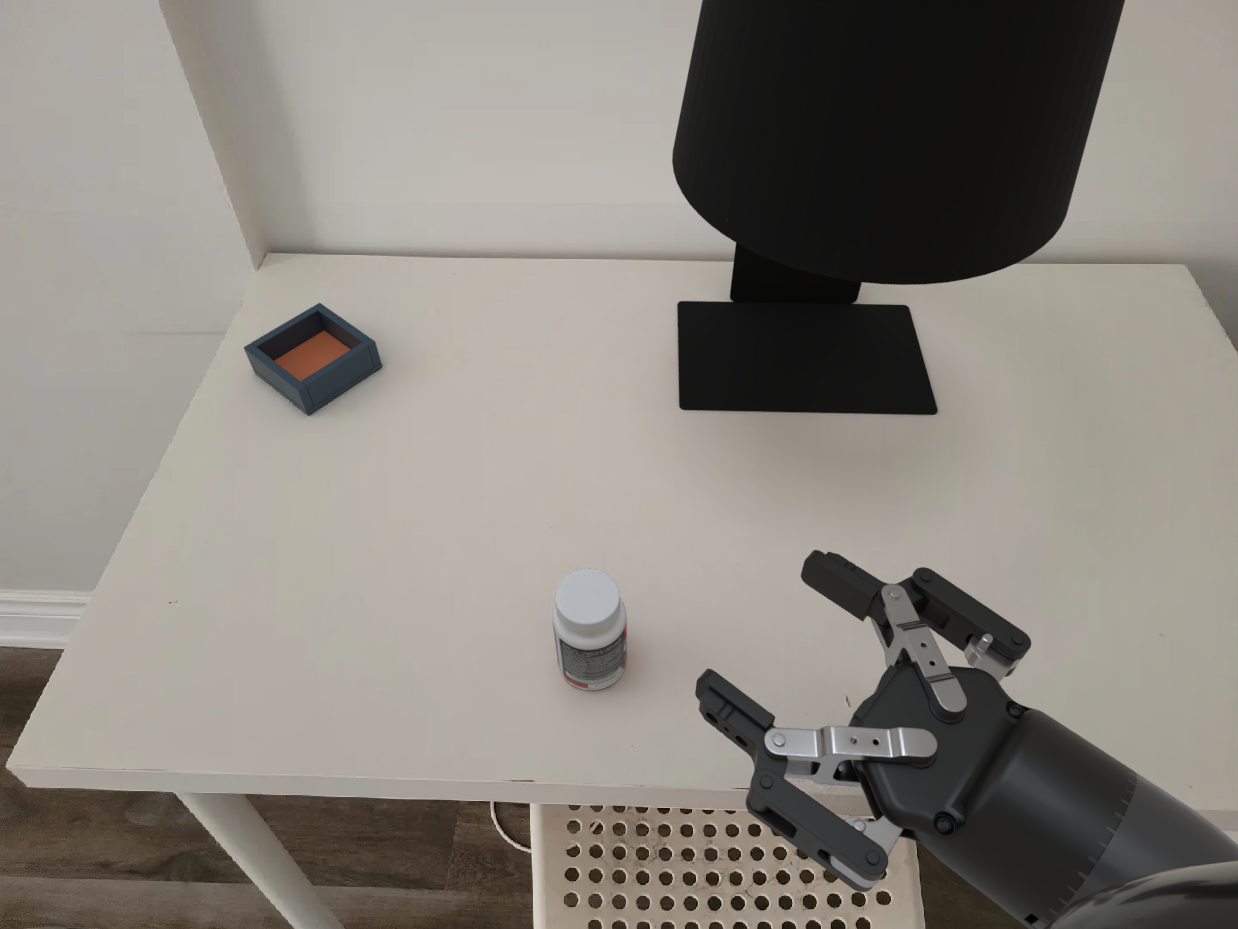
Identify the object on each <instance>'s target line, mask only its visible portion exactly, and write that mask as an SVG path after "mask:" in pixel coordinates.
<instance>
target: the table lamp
mask: <svg viewBox="0 0 1238 929" xmlns="http://www.w3.org/2000/svg"><path fill="white" fill-rule="evenodd" d="M1125 3H1126V0H702V1H701V6H700V10H699V15H698V19H697V20H698V21H697V26H696V31H695V36H694V41H693V47H692V51H691V55H690V56H691V57H690V61H689V66H688V72H687V77H686V81H685V85H684V86H685V87H684V91H683V96H682V102H681V107H680V113H679V118H678V121H677V122H678V123H677V128H676V132H675V137H674V141H673V142H674V143H673V147H672V156H671V157H672V158H671V163H672V172H673V175H674V178H675V182H676V184H677V185H678V188H679V190H680V192H681V194H682V195H683V197H684V198H685V199H686V201H687V202H688V204H689V206H690V207H691V208H692V209H693V210H694V211H695V212H696V213H697V214H698V215H699V216H700V217H701V218H702V219H703V220H704V221H705V222H706V223H707V224H708V225H709V226H711V227H712V228H713V229H714V230H716V231H717V232H719V233H720V234H722V235H723V236H725V237H727V238H728V239H729V240H730V241H731V240H732V241H733V242H734V243H735V248H734V255H733V264H732V265H733V266H732V272H731V273H732V274H731V280H730V282H731V284H730V291H729V299H730V300H731V301H717V300H716V301H712V300H711V301H710V300H709V301H708V300H680V301H678V302H677V308H676V310H677V357H678V358H677V361H678V406H679V408H680V409H681V410H684V411H723V412H724V411H725V412H727V411H729V412H769V413H770V412H771V413H772V412H773V413H779V412H780V413H822V414H823V413H825V414H826V413H828V414H869V415H870V414H874V415H876V414H877V415H878V414H879V415H919V416H921V415H923V416H925V415H926V416H927V415H929V416H934V415H936V414H937V413H938V412H939V409H938V405H937V402H936V401H937V400H936V398H935V396H934V391H933V388H932V383H931V381H930V377H929V373H928V370H927V366H926V364H925V363H926V362H925V359H924V356H923V352H922V348H921V345H920V341H919V337H918V334H917V330H916V327H915V323H914V319H913V316H912V313H911V309H910V306H908V305H907V304H887V303H886V304H885V303H881V304H880V303H856V302H857V301H858V299H859V295H860V291H861V287H862V283H863V284H865V283H867V284H876V285H891V286H892V285H893V286H895V285H897V286H913V285H914V286H916V285H921V286H922V285H935V284H936V285H937V284H943V283H944V284H945V283H953V282H958V281H959V282H960V281H965V280H970V279H974V278H979V277H982V276H986V275H989V274H992V273H996V272H998V271H1001V270H1004V269H1006V268H1009V267H1011V266H1014V265H1016V264H1018V263H1021V262H1022V261H1023V260H1025V259H1027V258H1029V257H1031V256H1032V255H1034V254H1035V253H1036V252H1038V251H1039V250H1041V249H1042V248H1044V247H1045V246H1046V245H1047V244H1048V243H1049V242H1051V240H1052V239H1053V238H1054V237H1055V236H1056V234H1057V233H1058V232H1059V231H1060V229H1061V228H1062V225H1063V224H1064V222H1065V220H1066V218H1067V215H1068V211H1069V208H1070V205H1071V204H1070V203H1071V200H1072V197H1073V193H1074V188H1075V185H1076V182H1077V178H1078V174H1079V171H1080V167H1081V163H1082V160H1083V156H1084V153H1085V149H1086V145H1087V141H1088V137H1089V134H1090V130H1091V127H1092V123H1093V120H1094V115H1095V113H1096V108H1097V105H1098V101H1099V97H1100V94H1101V90H1102V86H1103V83H1104V79H1105V76H1106V72H1107V68H1108V65H1109V61H1110V57H1111V54H1112V50H1113V45H1114V42H1115V39H1116V35H1117V32H1118V28H1119V25H1120V21H1121V17H1122V13H1123V11H1124V6H1125Z"/></svg>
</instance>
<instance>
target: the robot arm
mask: <svg viewBox="0 0 1238 929" xmlns="http://www.w3.org/2000/svg"><path fill="white" fill-rule="evenodd" d="M800 579H801V580H802V582H803V583H804V584H805V585H806V586H808V587H810V588H811V589H812V590H814V591H816V592H817V593H818V594H820V595H821V596H823V597H825V598H826V599H827V600H829V601H831V603H834V604H835V605H836V606H838V607H839V608H841V609H843V610H844V611H846V612H847V613H848V614H850V615H852V616H853V617H854V618H856V619H858V620H859V621H861V622H862V623H864V621H865V620H866V619H867V618H868V617H869V618H870V622H871V624H872V627H873V629H874V631H875V634H876V636H877V639H878V641H879V643H880V645H881V647H882V650H883V652H884V662H885V665H886V670H885V671H884V673H882V675H881V677H880V679H879V681H878V683H877V686H876V688H875V690H874V692H873V694H871V695H870V696H868V697H867V698H865V699H864V700H863V701H862V702H861V703H860V705H859V706H858V707H857V709H856V710H855V712H854V713H853V714H852V716H851V718H850V720H849V723H848V726H846V725H845V726H844V725H826V726H823V727H820V728H817V729H814V728H813V729H811V728H797V727H796V728H795V727H781V726H779V727H778V726H775V725H774V723H775V721H776V716H775V715H774V714H772V712H770V711H768V709H766V708H765V707H763V706H762V705H760V703H758V702H757V701H755V700H754V699H752V698H751V697H750V696H749V695H747V693H745V692H743V691H742V690H740V689H739V688H738V687H737V686H735V685H734V684H733V683H731V682H730V681H728V680H727V679H726V678H724V677H723V676H722V675H721V674H719V673H718V672H717V671H715V670H714V669H712V668H706V669H705V670H704V671H703V672H702V674H700V676H699V677H698V678H697V680H696V683H695V690H694V691H695V692H694V695H695V697H696V699H697V701H699V705H698V711H699V713H700V714H701V716H702V718H703V720H704V721H705V722H707V723H708V724H710V725H711V726H712V727H713V728H715V730H717V731H718V732H719V733H721V734H722V735H723V736H725V737H726V738H727V739H728V740H730V741H731V742H732V743H733V744H734V745H736V746H737V747H738V748H740V749H741V750H742V751H744V752H745V753H746V754H747V755H748V756H749V757H750V758H751V760H752V761H753V767H754V769H753V774H752V776H751V779H750V783H749V784H750V785H749V788H748V792H747V794H746V798H745V807H746V810H747V811H748V813H749V814H750V815H751V816H753V817H754V818H755V819H757V820H758V821H760V822H761V823H762V824H763V825H765V826H766V827H768V828H769V829H770V830H771V831H773V832H774V833H776V834H777V835H779V836H780V837H781V838H782V839H784V840H785V841H787V842H788V843H790V844H791V846H794V847H795V848H796V849H798V850H799V851H800V852H802V853H803V854H805V855H806V856H807V857H809V858H810V859H811V860H813V861H814V862H815V863H816V864H818V865H819V866H821V867H822V868H823V869H825V870H826V871H828V872H829V873H830V874H832V875H833V876H834V877H836V878H837V879H838V880H840V881H841V882H843V883H844V884H845V885H847V886H848V887H849V888H851V890H854V891H856V892H858V893H867V892H869V891H871V890H872V889H873V888H874V886H876V885H877V884H878V883H879V881H880V880H881V878H883V876H884V873H885V872H886V870H887V868H888V866H889V856H890V854H891V853H892V851H893V849H894V848H895V845H896V843H897V841H898V840H899V839H900V838H904V839H907V840H911V841H913V842H916V843H917V844H918V843H919V844H921V845H922V846H924V847H925V848H926V849H927V850H928V851H929V852H931V853H932V855H934V857H935V858H937V859H938V861H940V862H941V863H942V864H943V865H945V866H946V867H947V868H949V869H950V870H951V871H952V872H954V873H955V874H956V875H958V876H959V877H961V878H962V879H963V880H964V881H965V882H967V883H968V884H969V885H971V886H973V887H974V888H975V889H976V890H978V891H979V892H980V893H982V895H984V896H986V897H987V898H988V899H989V900H991V902H992V903H993V902H994V904H996V905H997V906H999V907H1000V908H1001V909H1002V910H1004V911H1005V912H1007V913H1008V914H1009V915H1010V916H1011V917H1013V918H1014V919H1015V920H1017V921H1018V922H1019V923H1020V924H1022V925H1023V926H1025V927H1026V928H1027V929H1238V843H1237V842H1236V841H1235V840H1233V838H1231V837H1230V836H1229V835H1227V833H1225V832H1224V831H1222V830H1221V828H1219V827H1218V826H1217V825H1215V824H1214V823H1213V822H1212V821H1210V820H1209V819H1208V818H1206V817H1205V816H1203V815H1202V814H1201V813H1200V812H1198V811H1196V810H1195V809H1194V808H1193V807H1191V806H1189V805H1187V804H1186V803H1184V802H1182V801H1181V800H1180V799H1178V797H1177V798H1176V797H1175V796H1174V795H1172V794H1171V793H1169V792H1168V791H1165V790H1164V789H1163V788H1161V787H1160V786H1158V785H1157V784H1155V783H1154V782H1152V781H1151V780H1149V779H1147V778H1146V777H1144V776H1142V775H1141V774H1139V773H1138V772H1137V771H1135V770H1133V769H1132V768H1130V767H1129V766H1127V765H1126V764H1124V763H1123V762H1121V761H1119V760H1118V759H1116V758H1115V757H1113V756H1112V755H1110V754H1109V753H1107V752H1105V751H1104V750H1103V749H1101V748H1099V747H1098V746H1097V745H1095V744H1093V743H1092V742H1090V741H1089V740H1088V739H1086V738H1084V737H1083V736H1081V735H1079V734H1078V733H1076V732H1075V731H1074V730H1071V729H1070V728H1069V727H1067V726H1066V725H1064V724H1062V723H1061V722H1059V721H1058V720H1056V719H1055V718H1053V717H1051V716H1050V715H1049V714H1047V713H1046V712H1044V711H1041V710H1040V709H1037V708H1032V707H1029V706H1026V705H1023V704H1020V703H1019V702H1016V701H1015V700H1014V699H1013V698H1012V697H1011V696H1010V695H1009V694H1008V693H1007V692H1006V690H1005V689H1003V688H1004V687H1002V685H1001V682H1002V680H1003V679H1004V678H1007V677H1010V676H1011V675H1012V674H1013V673H1014V672H1015V670H1016V669H1017V667H1018V666H1019V664H1021V661H1022V660H1023V659H1024V657H1025V656H1026V654H1027V653H1028V652H1029V651H1030V649H1031V647H1032V640H1031V638H1030V636H1029V635H1028V634H1027V633H1026V632H1025V631H1023V630H1022V629H1021V628H1019V627H1018V626H1017V625H1015V624H1013V623H1011V621H1008V620H1007V619H1006V618H1005V617H1003V616H1002V615H1000V614H998V613H997V612H995V611H994V610H993V609H991V608H990V607H988V606H987V605H985V604H983V603H982V602H981V601H979V600H977V598H975V597H973V596H972V595H971V594H969V593H967V592H966V591H965V590H962V588H960V587H958V586H957V585H955V584H954V583H952V582H951V581H950V580H948V579H946V578H945V577H943V576H942V575H940V574H939V573H938V572H936V571H935V570H933V569H931V568H929V567H924V566H922V567H921V566H920V567H917V568H916V569H914V571H913V572H912V575H911V576H908V577H907V578H904V579H902V580H901V581H899V582H897V583H896V582H895V583H887V582H885V581H882V580H881V579H879V578H877V577H876V576H875V575H873V574H871V573H870V572H868V571H867V570H865V569H863V568H862V567H860V566H858V565H856V564H855V563H853V562H852V561H849V560H848V559H847V558H846V557H844V556H842V555H841V554H840V553H835V552H832V551H827V552H826V553H825V552H824V551H821V550H819V549H813V550H812V551H811V552H810V554H809V555H807V557H806V558H805V559H804V561H803V564H802V568H801V572H800ZM932 631H933V632H934V633H936V634H937V635H939V636H940V637H941V638H943V639H944V640H946V641H947V642H949V643H950V644H951V645H952V646H954V647H956V648H957V649H958V650H960V651H962V653H963V655H964V658H965V659H966V662H967V664H968V665H969V666H957V665H948V663H947V661H946V659H945V657H944V655H943V653H942V651H941V649H940V647H939V645H938V643H937V641H936V639H935V636H934V635H933V632H932ZM787 779H799V780H801V779H802V780H811V781H812V782H813V783H814V784H818V785H825V786H837V787H838V786H840V787H854V788H861V789H862V791H863V795H864V796H865V798H866V801H867V804H868V806H869V809H870V811H871V813H872V816H873V818H874V821H869V820H866V819H863V818H861V817H859V816H856V815H855V816H854V815H852V816H848V817H846V818H845V819H843V818H842V817H840V816H838V815H837V814H836V813H834V812H833V811H831V810H830V809H829V808H827V807H826V806H825V805H823V804H822V803H821V802H819V801H818V800H816V799H815V798H813V797H811V796H810V795H809V794H807V793H806V792H804V791H803V790H801V789H800V788H798V787H797V786H796V785H794V784H793V783H792V782H790V781H789V780H787ZM24 929H101V928H98V927H85V926H43V925H42V926H35V927H26V928H25V927H24Z"/></svg>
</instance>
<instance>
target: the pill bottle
mask: <svg viewBox="0 0 1238 929" xmlns="http://www.w3.org/2000/svg"><path fill="white" fill-rule="evenodd" d="M554 599H555V604H554V606H553V610H552V627H553V628H552V629H553V634H554V643H555V648H556V658H557V665H558V668H559V671H560V673H561V675H562V676H563V679H565V681H566V682H568V684H570V685H572V686H573V687H575V688H577V689H580V690H584V691H597V690H603V689H605V688H609V687H610V686H612V685H614V683H616V682H617V681H618V680H619V679H620V678H621V677H622V675H623V673H624V671H625V669H626V666H627V661H628V636H627V635H628V628H627V627H628V617H627V616H628V615H627V610H626V605H625V603H624V601H623V599H622V598H621V593H620V589H619V585H618V584H617V582H616V580H614V579H613V577H611V575H609V574H608V573H606V572H604V571H602V570H599V569H596V568H595V569H593V568H582V569H578V570H575V571H572V572H570V573H569V574H567V575H566V576H565V577H563V578H562V580H561V581H560V582H559V584H558V585H557V587H556V590H555V597H554Z"/></svg>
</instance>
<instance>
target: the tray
mask: <svg viewBox="0 0 1238 929" xmlns="http://www.w3.org/2000/svg"><path fill="white" fill-rule="evenodd" d="M243 351H244V352H245V355H246V357H247V359H248V361H249V363H250V366H251V368H252V370H253V373H254V374H255V375H257V376H258V377H259V378H260V379H261V380H263V381H264V382H265V383H267V384H268V385H269V386H270V387H271V388H273V389H274V390H275V391H277V392H278V393H279V394H280V395H282V396H283V397H284V398H286V399H287V400H288V401H289V402H291V403H292V404H293V405H294V406H296V407H297V408H298V409H299V410H300V411H301V412H303V413H304V414H305V415H307V416H310V415H312V414H313V413H315V412H317V411H318V410H319V409H322V407H324V406H325V405H327V404H329V403H330V402H332V401H334V400H335V399H336V398H337V397H339V396H340V395H341V396H342V394H343V393H345V392H347V391H349V390H350V389H351V388H353V387H355V386H356V385H357V384H359V383H361V382H363V381H364V380H365V379H366V378H368V377H370V376H371V375H373V374H374V373H375V372H377V371H379V370H380V369H382V368H383V364H382V360H381V357H380V353H379V350H378V346H377V342H376V341H375V340H374V339H372V338H371V337H370V336H368V335H367V334H366V333H364V332H362V331H361V330H360V329H358V328H357V327H356V326H354V325H353V324H351V323H350V322H349V321H347V320H345V319H344V318H343V317H341V316H340V315H338V314H337V313H335V312H334V311H333V310H331V308H328V307H327V306H325V305H324V304H323V303H321V302H318V303H317V304H315V305H313V306H311V307H310V308H307V309H306V310H304V311H303V312H301V313H299V314H297V315H296V316H294V317H293V318H290V319H289V320H287V321H286V322H284V323H282V324H281V325H279V326H277V327H275V328H273V329H271V330H270V331H269V332H267V333H265V334H263V335H261V336H260V337H258V338H257V339H255V340H253V341H251V343H248V344H247V345H245V346H243Z"/></svg>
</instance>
